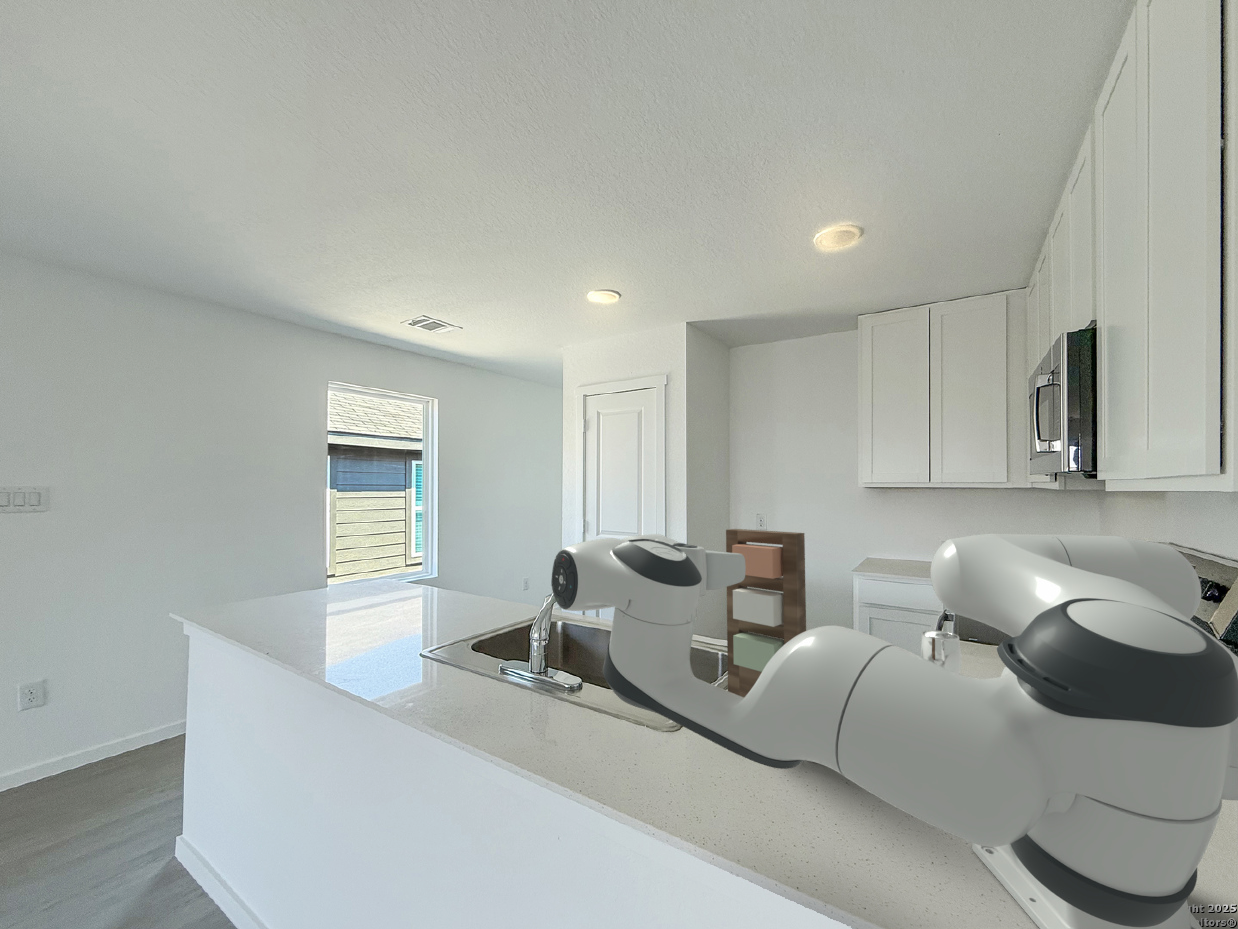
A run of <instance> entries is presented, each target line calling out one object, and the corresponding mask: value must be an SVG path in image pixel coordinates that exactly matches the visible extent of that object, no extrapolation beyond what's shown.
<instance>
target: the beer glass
mask: <svg viewBox="0 0 1238 929" xmlns="http://www.w3.org/2000/svg"><path fill="white" fill-rule="evenodd" d="M920 642H921V643H920V656H921V657H923V658H925V659H927V660H929V661H931V662H933V663H935V664H937V665H939V666H941V667H943V668H946V669H948V670H951V671H953V672H956V673H959V674H961V671H962V670H961V669H962V650H961V644H960V643H961V642H960V636H959V634H956V633H953V632H948V631H944V630H943V631H942V630H936V629H933V630H932V629H930V630H923V631H922V632H921V640H920Z"/></svg>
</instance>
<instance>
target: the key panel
mask: <svg viewBox="0 0 1238 929" xmlns="http://www.w3.org/2000/svg"><path fill="white" fill-rule="evenodd" d="M805 539H806V538H805V532H796V531H795V532H792V531H776V530H762V529H761V530H759V529H747V528H746V529H743V528H730V529H729V528H728V529H727V528H726V529H725V542H726V543H725V547H726V549H725V552H727V553H732V545H738V544H748V543H752V544H764V545H765V544H767V545H777V546H778V545H780V546H782V547H783V576H782V577H778V578H774V579H771V578H764V577H756V576H749V575H745V578H744V580H743V581H742V582H740V583H737V584H734V585H731V586H727V587H726V635H727V637H726V638H727V639H726V640H727V643H726V645H727V646H726V647H727V648H726V649H727V652H726V654H727V655H726V656H727V691H729V692H731V693H734V694H736V695H739V696H741V697H745V696H746V695H747V694H748V693H749V691H750V690H751V689H752V687H753V686H754V684H755V683H756V681H757V680H758V678H759V676H760V675H761V673H762V672H760V671H757V670H753V669H750V668H746V667H742V666H739V665H735V664H734V653H733V636H734V635H736V634H739V633H742V632H745V631H746V632H751V633H755V634H760V635H765V636H769V637H774V638H778V639H783V640H784V645H785V644H786V643H787V642H788V641H790V640H791V639H793V638H794V637H795V636H797V635H799V634H801V633H803V632H805V631H807V613H806V612H807V604H806V602H807V600H806V598H807V595H806V590H807V589H806V550H805V549H806V546H805V544H806V543H805V542H806V541H805ZM744 587H746V588H753V589H759V590H766V591H773V592H779V593H783V602H784V623H783V624H780V625H777V626H775V627H772V626H767V625H762V624H757V623H752V622H748V621H743V620H738V619H733V590H736V589H740V588H744Z"/></svg>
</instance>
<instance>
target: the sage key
mask: <svg viewBox="0 0 1238 929" xmlns="http://www.w3.org/2000/svg"><path fill="white" fill-rule="evenodd" d="M783 645H784V639H779V638H775V637H770V636H766V635H761V634H756V633H752V632H746V631H745V632H742V633H739V634H736V635H734V636H733V653H734V664H735V665H739V666H742V667H746V668H750V669H753V670H757V671H760V672H762V671H763V669H764V668H765V666H766V664H767V663H768V662H769V660H770V659H771V658H772V657H773V656H774V654H775V653H776V652H777V651H778V650H779V649H780V648H781V647H782V646H783Z"/></svg>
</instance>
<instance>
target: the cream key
mask: <svg viewBox="0 0 1238 929" xmlns="http://www.w3.org/2000/svg"><path fill="white" fill-rule="evenodd" d="M733 619H738V620H743V621H748V622H752V623H757V624H762V625H767V626H772V627H775V626H777V625H780V624H783V623H784V602H783V592H780V591H773V590H766V589H760V588H753V587H747V588H746V587H744V588H740V589H736V590H733Z"/></svg>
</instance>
